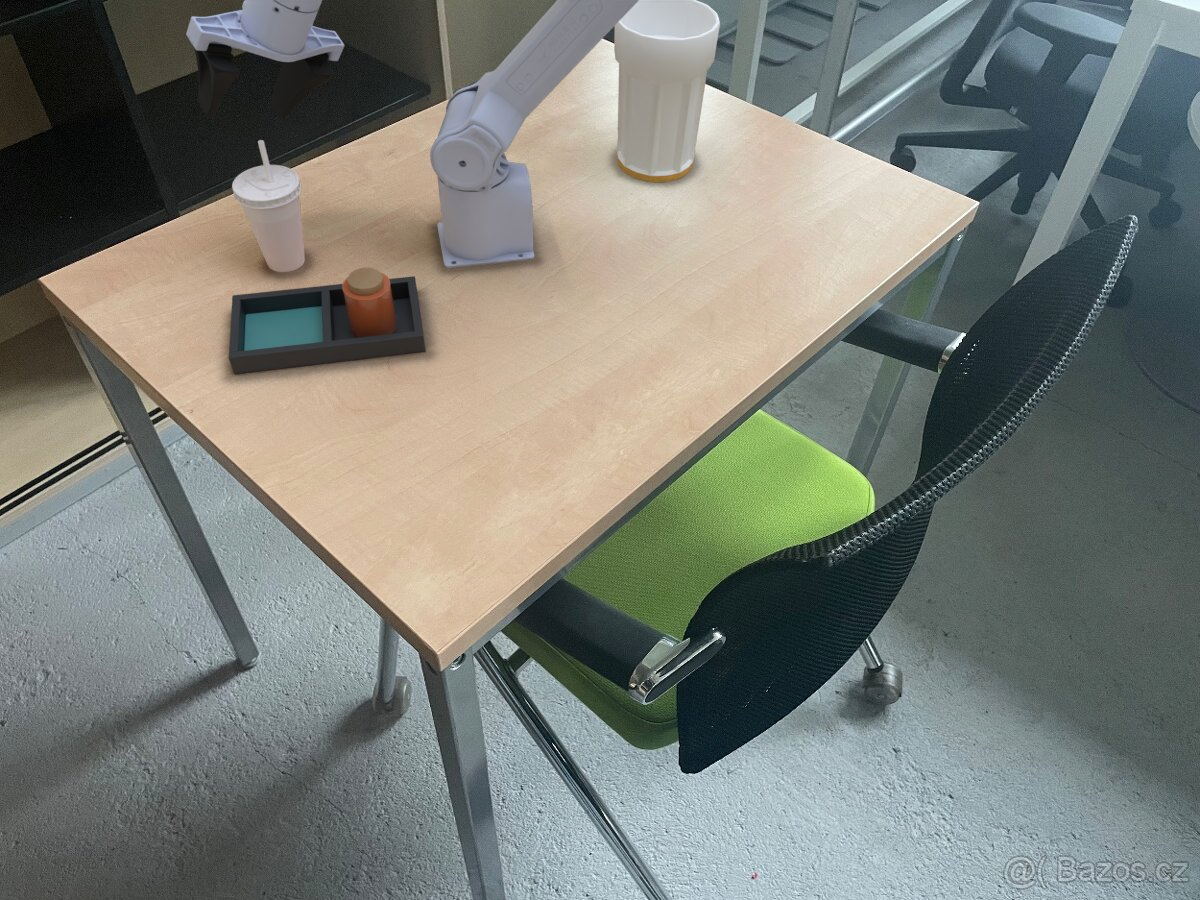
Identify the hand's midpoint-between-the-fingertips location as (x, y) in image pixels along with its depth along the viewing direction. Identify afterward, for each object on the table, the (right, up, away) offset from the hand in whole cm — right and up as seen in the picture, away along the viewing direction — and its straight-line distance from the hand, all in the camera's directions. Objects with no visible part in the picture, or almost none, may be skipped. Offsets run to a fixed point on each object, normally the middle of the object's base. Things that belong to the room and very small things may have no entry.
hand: (243, 109), depth 92 cm
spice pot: (+13, -21, 0) cm, 25 cm away
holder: (+9, -22, -1) cm, 24 cm away
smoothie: (+2, -14, +7) cm, 15 cm away
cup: (+41, +2, +22) cm, 47 cm away
